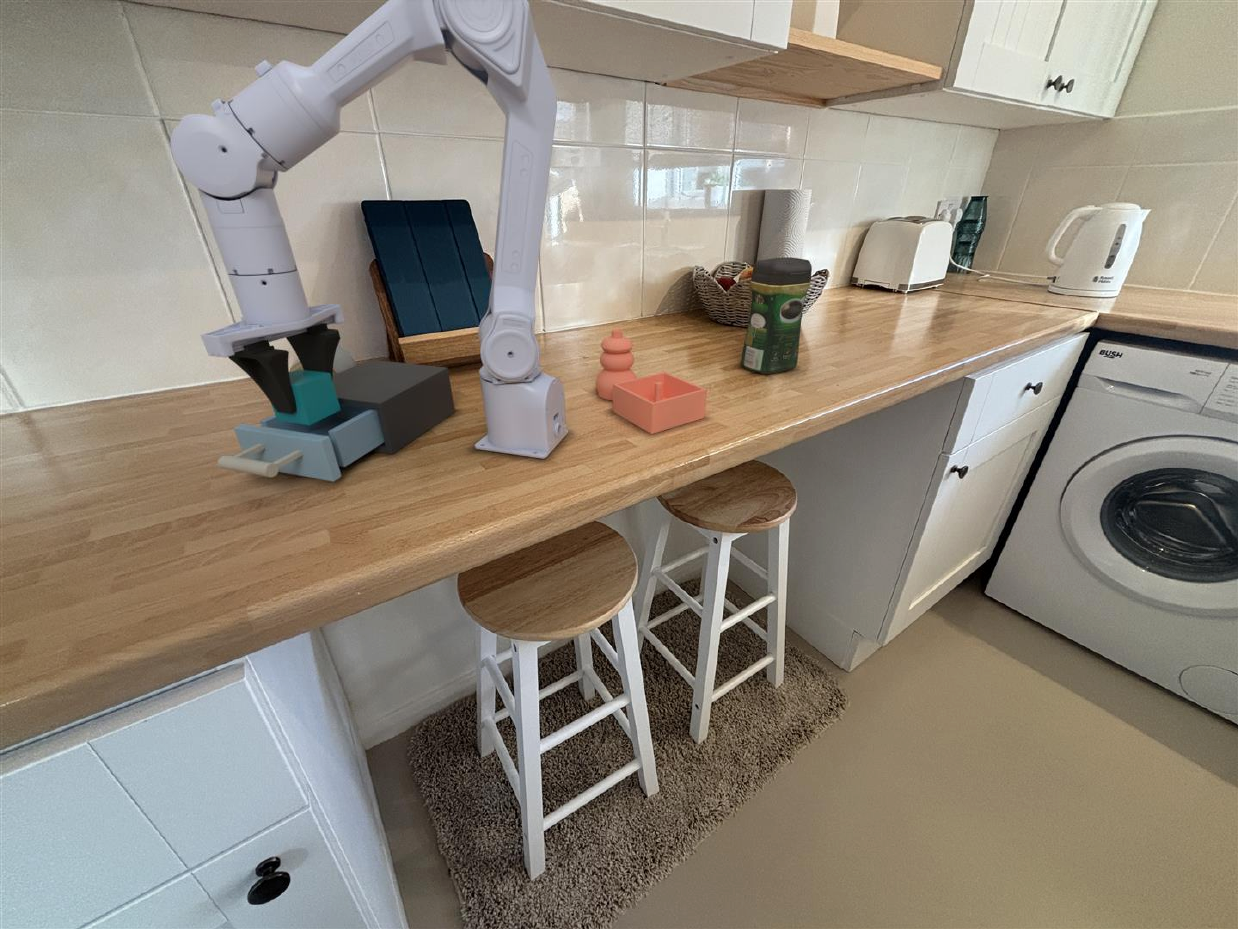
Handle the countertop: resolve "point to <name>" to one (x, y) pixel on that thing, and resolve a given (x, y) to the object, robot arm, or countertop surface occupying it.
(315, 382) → the teal toy cube
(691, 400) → the pink peg stacking toy
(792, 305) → the coffee jar
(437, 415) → the dark grey drawer cabinet
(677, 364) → the countertop surface
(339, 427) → the drawer
